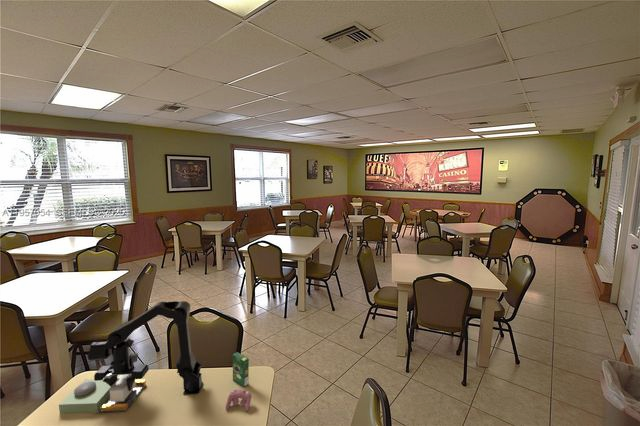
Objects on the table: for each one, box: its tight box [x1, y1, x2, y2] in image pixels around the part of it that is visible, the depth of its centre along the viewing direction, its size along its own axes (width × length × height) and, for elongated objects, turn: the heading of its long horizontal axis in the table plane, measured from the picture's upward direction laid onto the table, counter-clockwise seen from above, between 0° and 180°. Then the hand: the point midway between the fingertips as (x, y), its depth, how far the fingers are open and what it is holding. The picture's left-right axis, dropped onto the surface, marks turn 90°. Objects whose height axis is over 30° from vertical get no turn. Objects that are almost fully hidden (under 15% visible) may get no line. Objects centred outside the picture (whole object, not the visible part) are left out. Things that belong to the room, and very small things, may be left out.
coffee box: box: [232, 351, 250, 388], centre depth 131 cm, size 8×3×13 cm, turn 57°
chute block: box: [109, 374, 137, 402], centre depth 120 cm, size 5×9×6 cm, turn 5°
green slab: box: [58, 377, 119, 415], centre depth 120 cm, size 14×14×6 cm
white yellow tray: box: [98, 379, 147, 414], centre depth 121 cm, size 10×15×2 cm, turn 4°
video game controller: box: [225, 389, 253, 412], centre depth 118 cm, size 10×5×7 cm, turn 85°
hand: (123, 390), depth 121 cm, fingers closed on chute block, 5 cm apart
